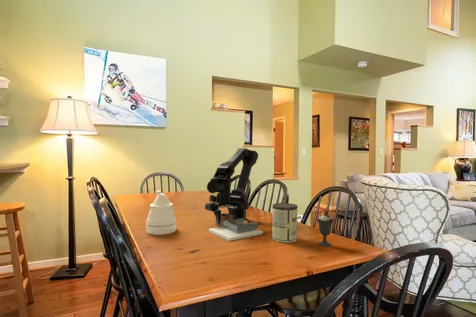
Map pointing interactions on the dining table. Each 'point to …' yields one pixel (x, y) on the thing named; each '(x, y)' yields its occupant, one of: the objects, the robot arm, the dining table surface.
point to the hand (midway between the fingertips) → (224, 222)
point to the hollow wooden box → (224, 218)
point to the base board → (234, 233)
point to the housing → (239, 225)
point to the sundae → (325, 227)
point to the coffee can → (284, 222)
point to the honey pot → (161, 216)
